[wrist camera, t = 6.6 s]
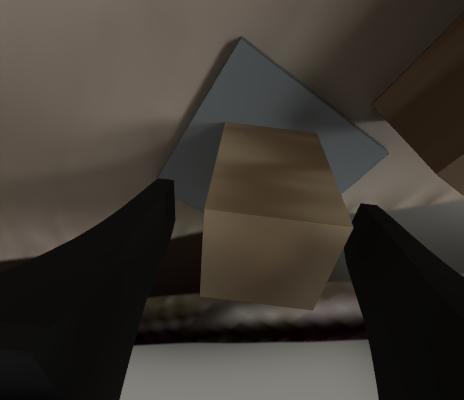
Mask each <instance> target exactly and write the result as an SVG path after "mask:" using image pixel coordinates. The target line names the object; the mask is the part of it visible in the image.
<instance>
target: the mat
mask: <svg viewBox="0 0 464 400" xmlns="http://www.w3.org/2000/svg"><path fill="white" fill-rule="evenodd" d="M225 122H231V123H239V124H247V125H256V126H264V127H272V128H280V129H288V130H296V131H304V132H313V133H317V134H318V137H319V140H320V142H321V145H322V147H323V150H324V152H325V155H326V158H327V160H328V163H329V165H330V168H331V171H332V173H333V176H334V178H335V181H336V183H337V186H338V189H339V191H340V194H342V193H344V192H345V191H346V190H347V189H348V188H349V187H351V186H352V185H353V184H354V183H355V182H356V181H357V180H359V179H360V178H361V177H362V176H363V175H364V174H366V173H367V172H368V171H369V170H370V169H371V168H373V167H374V166H375V165H376V164H377V163H378V162H380V161H381V160H382V159H383V158H384V157H385V156H387V155H388V154H389V153H388V151H387V150H386V149H385V147H383V146H382V145H381V144H379V143H378V142H377V141H376V140H374V139H373V138H372V137H370V136H369V135H368V134H367V133H365V132H364V131H363V130H361V129H360V128H359V127H358V126H356V125H355V124H354V123H352V122H351V121H350V120H349V119H347V118H346V117H345V116H343V115H342V114H341V113H340V112H338V111H337V110H336V109H334V108H333V107H332V106H330V105H329V104H328V103H327V102H325V101H324V100H323V99H321V98H320V97H319V96H318V95H316V94H315V93H314V92H312V91H311V90H310V89H309V88H307V87H306V86H305V85H303V84H302V83H301V82H300V81H298V80H297V79H296V78H294V77H293V76H292V75H291V74H289V73H288V72H287V71H285V70H284V69H283V68H281V67H280V66H279V65H278V64H276V63H275V62H274V61H272V60H271V59H270V58H269V57H267V56H266V55H265V54H263V53H262V52H261V51H260V50H258V49H257V48H256V47H254V46H253V45H252V44H251V43H249V42H248V41H247V40H245V39H244V38H243V37H242V36H241V38H240V40H239V41H238V43H237V45H236V47H235V48H234V50H233V52H232V53H231V55H230V57H229V58H228V60H227V62H226V63H225V65H224V67H223V68H222V70H221V72H220V73H219V75H218V77H217V78H216V80H215V82H214V83H213V85H212V87H211V88H210V90H209V92H208V93H207V95H206V97H205V98H204V100H203V102H202V103H201V105H200V107H199V108H198V110H197V112H196V113H195V115H194V117H193V119H192V120H191V122H190V124H189V125H188V127H187V129H186V130H185V132H184V134H183V135H182V137H181V139H180V140H179V142H178V144H177V145H176V147H175V149H174V150H173V152H172V154H171V155H170V157H169V159H168V160H167V162H166V164H165V165H164V167H163V169H162V170H161V172H160V174H159V175H158V177H157V179H158V178H161V179H169V180H174V195H175V197H176V198H178V199H180V200H181V201H183V202H185V203H187V204H189V205H191V206H193V207H195V208H196V209H198V210H200V211H202V212H204V208H205V204H206V200H207V196H208V192H209V188H210V183H211V179H212V175H213V171H214V167H215V163H216V158H217V154H218V150H219V146H220V142H221V138H222V133H223V129H224V125H225ZM157 179H156V180H157Z"/></svg>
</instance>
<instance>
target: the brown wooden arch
mask: <svg viewBox="0 0 464 400" xmlns="http://www.w3.org/2000/svg"><path fill="white" fill-rule="evenodd" d="M372 105H373V106H374V108H375V109H376V110H377V111H378V112H379V113H380V114H381V115H382V116H383V117H384V118H385V119H386V120H387V122H388V123H389V124H390V125H391V126H392V127H393V128H394V129H395V130H396V131H397V132H398V133H399V135H400V136H401V137H402V138H403V139H404V140H405V141H406V142H407V143H408V144H409V145H410V146H411V147H412V149H413V150H414V151H415V152H416V153H417V154H418V155H419V156H420V157H421V158H422V159H423V160H424V161H425V163H426V164H427V165H428V166H429V167H430V168H431V169H432V170H433V171H434V172H435V173H436V174H437V175H438V176H439V177H440V178H442V179H443V180H444V181H445V182H447V183H448V184H449V185H450V186H452V187H453V188H454V189H455V190H457V191H458V192H459V193H460V194H462V195H464V13H463V14H462V15H461V16H460V17H459V18H458V19H457V20H456V21H455V22H454V23H453V24H452V25H451V26H450V27H449V28H448V29H447V30H446V31H445V32H444V33H443V34H442V35H441V36H440V37H439V38H438V39H437V40H436V41H435V42H434V43H433V44H432V45H431V46H430V47H429V48H428V49H427V50H426V51H425V52H424V53H423V54H422V55H421V56H420V57H419V58H418V59H417V60H416V61H415V62H414V63H413V64H412V65H411V66H410V67H409V68H408V69H407V70H406V71H405V72H404V73H403V74H402V75H401V76H400V77H399V78H398V79H397V80H396V81H395V82H394V83H393V84H392V85H391V86H390V87H389V88H388V89H387V90H386V91H385V92H384V93H383V94H382V95H381V96H380V97H379V98H378V99H377V100H376V101H375V102H374V103H373V104H372Z"/></svg>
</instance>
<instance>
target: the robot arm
mask: <svg viewBox="0 0 464 400" xmlns="http://www.w3.org/2000/svg"><path fill="white" fill-rule="evenodd" d="M174 223H175V195H174V180H169V179H161V178H158V179H157V180H155V181H154V182H153V183H151V184H150V185H149V186H148V187H147V188H145V189H144V190H143V191H142V192H141V193H139V194H138V195H137V196H136V197H135V198H133V199H132V200H131V201H129V202H128V203H127V204H126V205H124V206H123V207H122V208H121V209H119V210H118V211H116V212H115V213H114V214H112V215H111V216H109V217H108V218H107V219H105V220H104V221H102V222H101V223H99V224H98V225H96V226H94V227H93V228H91V229H90V230H88V231H86V232H84V233H83V234H81V235H79V236H78V237H76V238H74V239H72V240H70V241H68V242H66V243H64V244H62V245H60V246H58V247H56V248H54V249H52V250H50V251H48V252H46V253H44V254H42V255H40V256H38V257H36V258H33V259H31V260H29V261H27V262H25V263H22V264H20V265H17V266H15V267H12V268H10V269H7V270H5V271H2V272H0V400H119V399H120V395H121V391H122V387H123V383H124V379H125V375H126V371H127V368H128V364H129V360H130V356H131V352H132V348H133V345H134V341H135V338H136V334H137V331H138V327H139V324H140V320H141V317H142V313H143V310H144V306H145V303H146V300H147V297H148V294H149V292H150V289H151V287H152V284H153V282H154V279H155V277H156V274H157V272H158V269H159V267H160V265H161V262H162V260H163V257H164V255H165V252H166V250H167V247H168V245H169V242H170V239H171V235H172V231H173V227H174ZM352 225H353V227H354V228H353V230H352V232H351V234H350V236H349V238H348V240H347V242H346V244H345V246H344V252H345V258H346V264H347V267H348V271H349V274H350V277H351V281H352V284H353V287H354V290H355V293H356V297H357V300H358V303H359V306H360V309H361V312H362V315H363V319H364V322H365V326H366V330H367V335H368V340H369V344H370V349H371V354H372V360H373V366H374V371H375V378H376V383H377V390H378V398H379V400H464V277H463V276H461V275H460V274H459V273H457V272H456V271H455V270H453V269H452V268H451V267H449V266H448V265H447V264H445V263H444V262H443V261H442V260H441V259H439V258H438V257H437V256H436V255H434V254H433V253H432V252H431V251H429V250H428V249H427V248H426V247H425V246H424V245H422V244H421V243H420V242H419V241H418V240H417V239H415V238H414V237H413V236H412V235H411V234H410V233H409V232H407V231H406V230H405V229H404V228H403V227H402V226H401V225H400V224H398V223H397V222H396V221H395V220H394V219H393V218H392V217H391V216H389V215H388V214H387V213H386V212H385V211H384V210H382V209H381V208H380V207H378V206H377V205H371V204H363V203H361V204H360V206H359V208H358V210H357V212H356V214H355V217H354V219H353V221H352Z"/></svg>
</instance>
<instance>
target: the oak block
mask: <svg viewBox="0 0 464 400" xmlns="http://www.w3.org/2000/svg"><path fill="white" fill-rule="evenodd" d="M353 228H354V227H353V225H352V222H351V220H350V217H349V214H348V212H347V209H346V207H345V204H344V202H343V199H342V196H341V194H340V191H339V189H338V186H337V183H336V181H335V178H334V176H333V173H332V171H331V168H330V165H329V163H328V160H327V158H326V155H325V152H324V150H323V147H322V145H321V142H320V140H319V137H318V134H317V133H313V132H304V131H296V130H288V129H280V128H272V127H264V126H256V125H247V124H239V123H231V122H225V125H224V129H223V133H222V138H221V142H220V146H219V150H218V154H217V158H216V163H215V167H214V171H213V175H212V179H211V183H210V188H209V192H208V196H207V200H206V204H205V208H204V226H203V246H202V267H201V288H200V296H201V297H209V298H217V299H226V300H234V301H242V302H250V303H258V304H266V305H274V306H282V307H291V308H299V309H307V310H313V309H314V307H315V305H316V303H317V301H318V299H319V297H320V295H321V293H322V291H323V289H324V287H325V285H326V283H327V281H328V278H329V276H330V274H331V272H332V270H333V268H334V266H335V264H336V262H337V260H338V258H339V256H340V254H341V252H342V250H343V248H344V246H345V244H346V242H347V240H348V238H349V236H350V234H351V232H352V230H353Z"/></svg>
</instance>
